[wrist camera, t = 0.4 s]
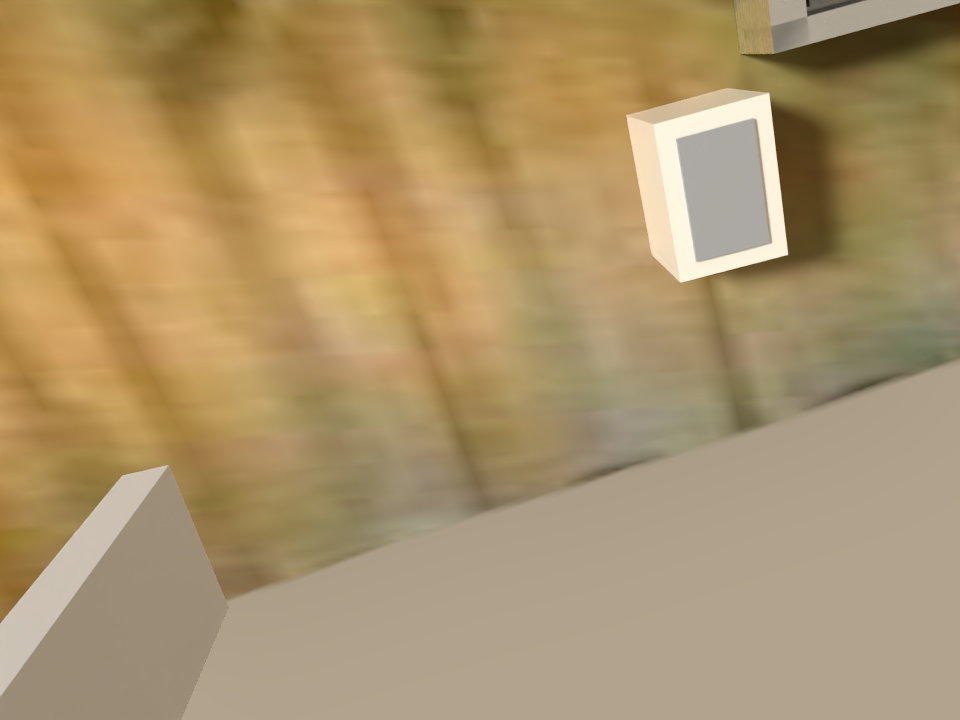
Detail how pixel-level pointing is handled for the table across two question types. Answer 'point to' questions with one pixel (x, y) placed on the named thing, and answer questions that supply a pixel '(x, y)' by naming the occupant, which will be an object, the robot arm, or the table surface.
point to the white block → (710, 182)
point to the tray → (815, 20)
